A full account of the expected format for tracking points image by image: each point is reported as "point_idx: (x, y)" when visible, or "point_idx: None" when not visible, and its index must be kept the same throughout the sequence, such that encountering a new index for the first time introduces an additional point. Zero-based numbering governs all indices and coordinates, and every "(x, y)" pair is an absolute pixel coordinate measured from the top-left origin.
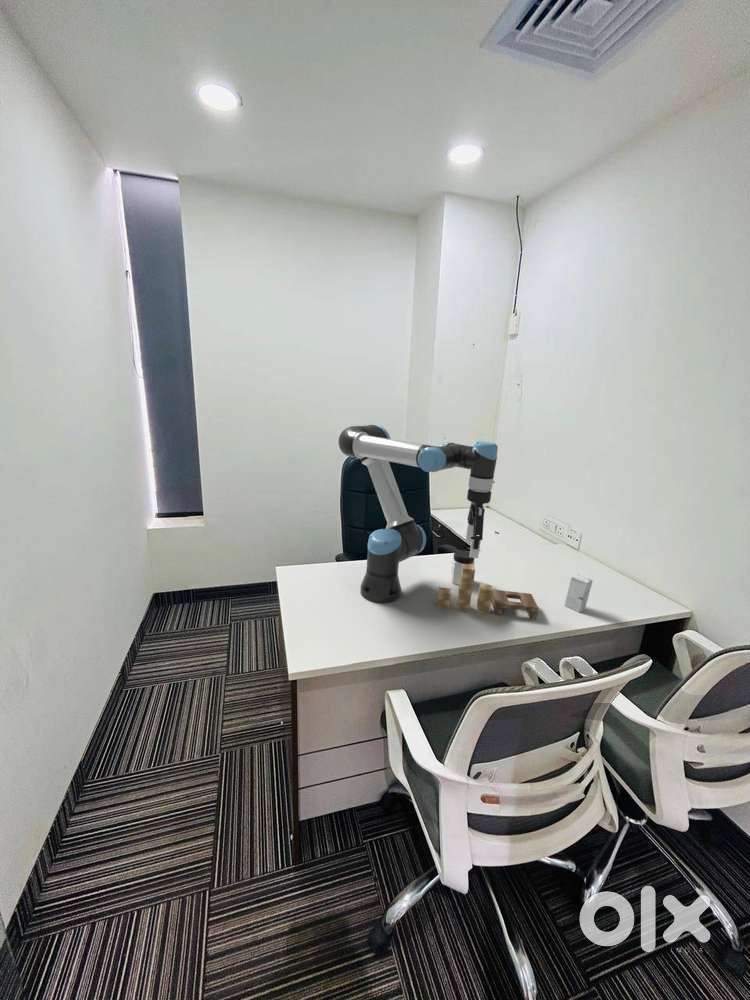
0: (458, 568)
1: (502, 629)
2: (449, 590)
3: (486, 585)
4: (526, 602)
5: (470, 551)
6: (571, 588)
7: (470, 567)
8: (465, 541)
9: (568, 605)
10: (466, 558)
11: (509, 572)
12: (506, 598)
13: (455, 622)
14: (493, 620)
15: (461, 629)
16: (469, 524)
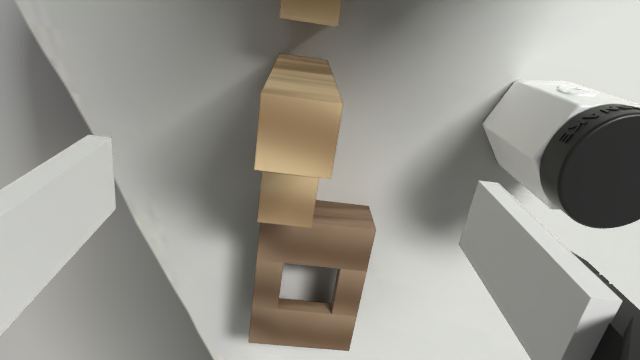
0: (543, 117)
1: (169, 192)
2: (315, 17)
3: (308, 206)
4: (281, 318)
5: (55, 155)
6: None
7: (287, 147)
8: (487, 182)
9: None
10: (560, 172)
11: None
12: (303, 261)
13: (178, 21)
14: (223, 177)
15: (131, 36)
16: (609, 323)
